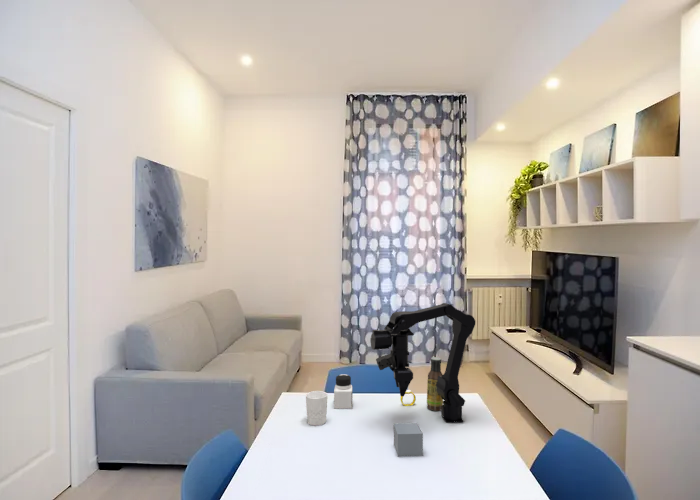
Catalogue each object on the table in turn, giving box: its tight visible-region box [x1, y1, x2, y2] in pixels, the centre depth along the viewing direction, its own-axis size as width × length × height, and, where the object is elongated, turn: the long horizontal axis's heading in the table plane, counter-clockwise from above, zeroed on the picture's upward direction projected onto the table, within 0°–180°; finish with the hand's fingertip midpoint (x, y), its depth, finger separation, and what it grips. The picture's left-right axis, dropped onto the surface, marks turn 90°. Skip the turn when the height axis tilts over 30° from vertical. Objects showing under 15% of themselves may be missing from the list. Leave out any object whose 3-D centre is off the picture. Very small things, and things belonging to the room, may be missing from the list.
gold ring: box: [400, 389, 417, 407], centre depth 164 cm, size 6×3×6 cm, turn 103°
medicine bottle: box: [333, 374, 353, 410], centre depth 164 cm, size 7×7×12 cm
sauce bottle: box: [426, 356, 444, 412], centre depth 160 cm, size 6×6×20 cm
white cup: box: [305, 390, 328, 427], centre depth 148 cm, size 8×8×10 cm
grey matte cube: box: [393, 422, 424, 458], centre depth 127 cm, size 8×8×7 cm
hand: (400, 391), depth 145 cm, fingers open, 9 cm apart
